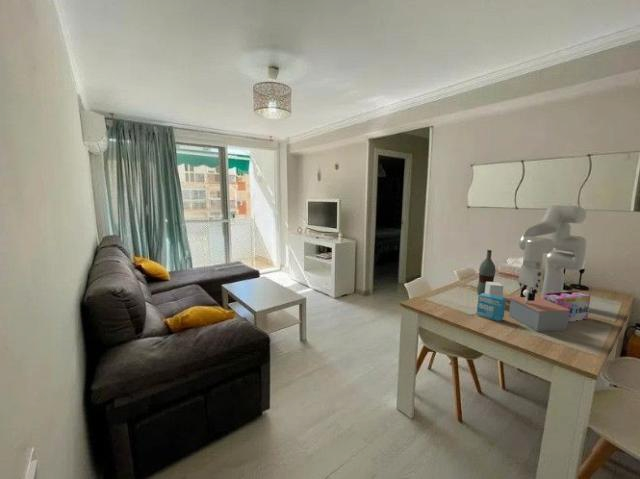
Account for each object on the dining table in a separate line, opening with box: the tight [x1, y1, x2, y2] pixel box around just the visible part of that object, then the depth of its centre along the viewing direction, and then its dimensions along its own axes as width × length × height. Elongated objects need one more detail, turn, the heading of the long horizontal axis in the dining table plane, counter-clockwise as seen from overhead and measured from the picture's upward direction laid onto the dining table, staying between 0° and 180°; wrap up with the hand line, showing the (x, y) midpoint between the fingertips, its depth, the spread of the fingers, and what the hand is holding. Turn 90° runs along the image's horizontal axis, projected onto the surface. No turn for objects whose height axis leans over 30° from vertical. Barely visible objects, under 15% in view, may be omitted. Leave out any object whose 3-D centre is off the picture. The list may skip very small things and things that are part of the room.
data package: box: [476, 293, 506, 322], centre depth 153 cm, size 12×4×12 cm, turn 47°
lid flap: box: [510, 288, 570, 312], centre depth 145 cm, size 17×18×8 cm
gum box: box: [543, 290, 591, 322], centre depth 153 cm, size 24×8×14 cm, turn 103°
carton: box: [508, 298, 570, 333], centre depth 147 cm, size 16×18×10 cm
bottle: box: [476, 249, 496, 296], centre depth 185 cm, size 9×9×30 cm
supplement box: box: [485, 281, 504, 297], centre depth 172 cm, size 7×7×13 cm
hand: (527, 298), depth 145 cm, fingers closed on lid flap, 4 cm apart
